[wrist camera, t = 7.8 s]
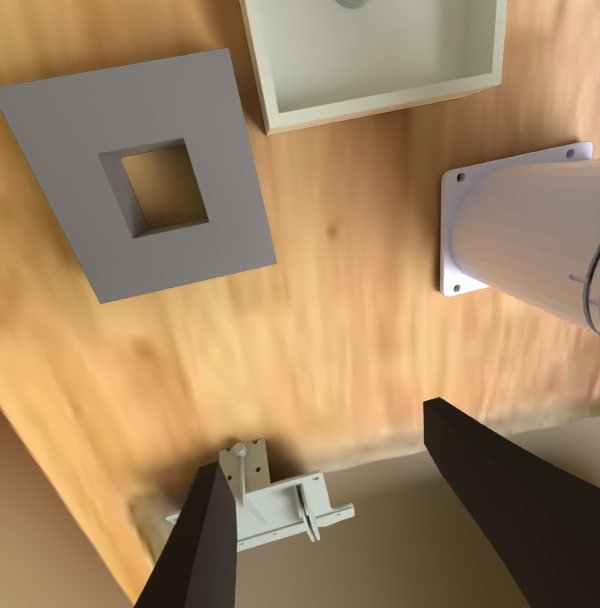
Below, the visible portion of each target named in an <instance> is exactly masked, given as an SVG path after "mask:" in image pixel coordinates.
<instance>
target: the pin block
mask: <svg viewBox="0 0 600 608" xmlns="http://www.w3.org/2000/svg"><path fill="white" fill-rule="evenodd" d="M0 110H1V111H2V113H3V115H4V117H5V119H6V121H7V123H8V125H9V127H10V129H11V131H12V133H13V135H14V137H15V139H16V141H17V143H18V145H19V146H20V148H21V150H22V152H23V154H24V156H25V158H26V160H27V162H28V164H29V166H30V168H31V170H32V172H33V174H34V176H35V178H36V180H37V182H38V183H39V185H40V187H41V189H42V191H43V193H44V195H45V197H46V199H47V201H48V203H49V205H50V207H51V209H52V211H53V213H54V215H55V217H56V219H57V220H58V222H59V224H60V226H61V228H62V230H63V232H64V234H65V236H66V238H67V240H68V242H69V244H70V246H71V248H72V250H73V252H74V254H75V255H76V257H77V259H78V261H79V263H80V265H81V267H82V269H83V271H84V273H85V275H86V277H87V279H88V281H89V283H90V285H91V287H92V289H93V291H94V292H95V294H96V296H97V298H98V300H99V302H100V304H103V303H107V302H112V301H116V300H120V299H125V298H129V297H133V296H138V295H142V294H147V293H151V292H155V291H160V290H164V289H168V288H173V287H177V286H182V285H186V284H190V283H195V282H199V281H203V280H208V279H212V278H216V277H221V276H225V275H230V274H234V273H238V272H243V271H247V270H251V269H256V268H260V267H265V266H269V265H273V264H277V260H276V256H275V252H274V247H273V243H272V238H271V234H270V229H269V225H268V221H267V216H266V212H265V207H264V203H263V199H262V194H261V190H260V185H259V181H258V176H257V172H256V168H255V163H254V159H253V154H252V150H251V145H250V141H249V137H248V132H247V128H246V123H245V119H244V114H243V110H242V106H241V101H240V97H239V92H238V88H237V84H236V79H235V75H234V70H233V66H232V61H231V57H230V53H229V48H222V49H216V50H211V51H205V52H199V53H193V54H187V55H181V56H176V57H170V58H164V59H158V60H152V61H147V62H141V63H135V64H129V65H123V66H117V67H112V68H106V69H100V70H94V71H88V72H83V73H77V74H71V75H65V76H59V77H54V78H48V79H42V80H36V81H30V82H24V83H19V84H13V85H7V86H1V87H0ZM181 145H186V147H187V150H188V154H189V157H190V160H191V163H192V167H193V170H194V173H195V176H196V180H197V183H198V186H199V190H200V193H201V196H202V199H203V203H204V206H205V209H206V212H207V216H208V218H203V219H198V220H194V221H189V222H184V223H180V224H175V225H170V226H166V227H161V228H156V229H151V230H149V229H148V227H147V224H146V222H145V219H144V217H143V214H142V212H141V209H140V206H139V204H138V201H137V199H136V196H135V194H134V191H133V189H132V186H131V184H130V181H129V179H128V176H127V173H126V171H125V168H124V166H123V163H122V161H121V158H120V157H124V156H130V155H135V154H140V153H145V152H150V151H155V150H161V149H166V148H171V147H176V146H181Z"/></svg>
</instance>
